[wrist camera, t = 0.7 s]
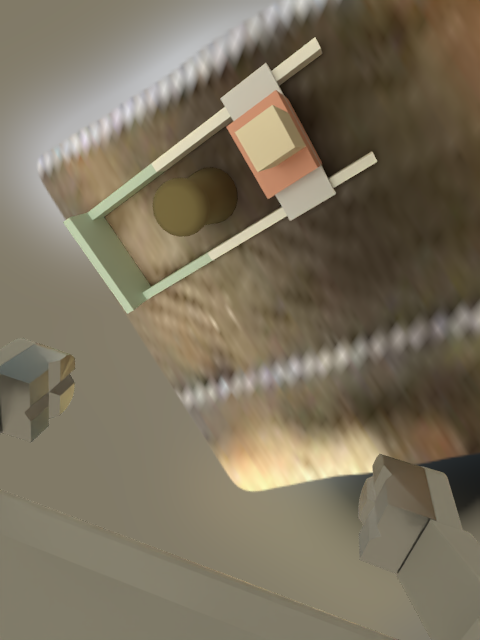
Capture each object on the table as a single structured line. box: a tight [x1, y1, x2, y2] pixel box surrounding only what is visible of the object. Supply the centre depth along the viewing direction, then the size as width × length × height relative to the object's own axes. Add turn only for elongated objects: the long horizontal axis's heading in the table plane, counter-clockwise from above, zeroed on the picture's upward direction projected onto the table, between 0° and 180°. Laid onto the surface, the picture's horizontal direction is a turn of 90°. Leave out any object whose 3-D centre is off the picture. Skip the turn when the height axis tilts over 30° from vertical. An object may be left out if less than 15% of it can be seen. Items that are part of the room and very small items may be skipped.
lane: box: [63, 38, 377, 314], centre depth 43 cm, size 30×12×6 cm, turn 122°
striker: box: [220, 63, 336, 221], centre depth 35 cm, size 5×13×16 cm, turn 32°
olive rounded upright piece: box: [153, 167, 238, 236], centre depth 41 cm, size 6×6×11 cm
